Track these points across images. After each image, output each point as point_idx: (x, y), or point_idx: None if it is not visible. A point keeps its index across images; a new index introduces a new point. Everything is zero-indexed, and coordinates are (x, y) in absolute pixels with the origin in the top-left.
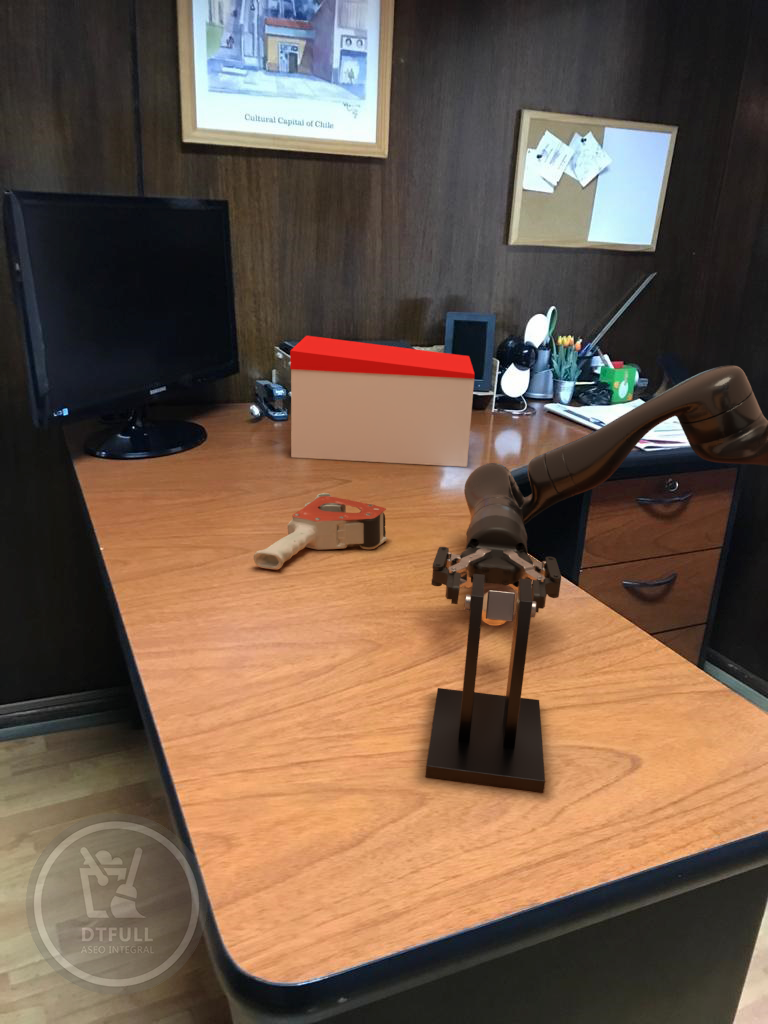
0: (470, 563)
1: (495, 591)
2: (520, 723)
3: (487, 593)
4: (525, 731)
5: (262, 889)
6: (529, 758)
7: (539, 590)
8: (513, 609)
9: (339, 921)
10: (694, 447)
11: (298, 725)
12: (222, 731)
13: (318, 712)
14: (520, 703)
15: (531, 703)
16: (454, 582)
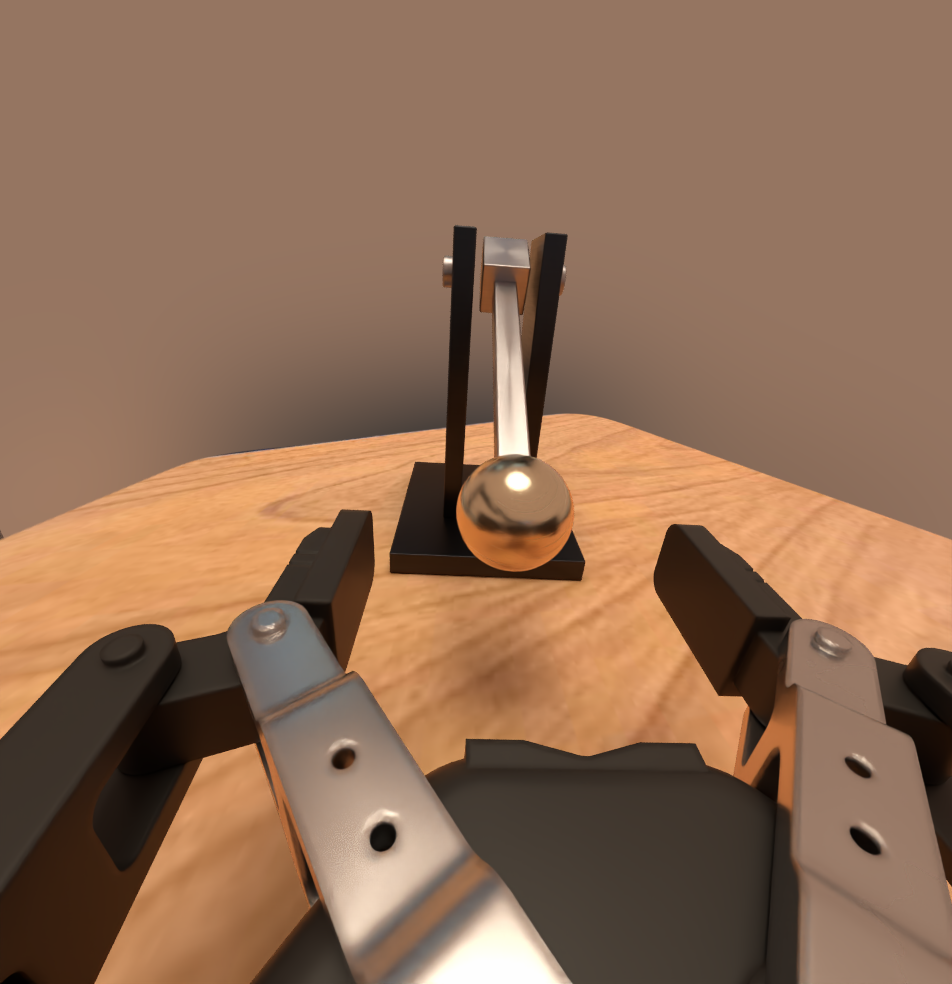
0: (789, 704)
1: (516, 239)
2: (433, 512)
3: (550, 468)
4: (427, 503)
5: (616, 432)
6: (428, 477)
7: (333, 528)
8: (481, 264)
9: (560, 424)
10: None
11: (734, 523)
12: (803, 511)
13: (734, 541)
14: (428, 542)
15: (407, 544)
16: (712, 540)
